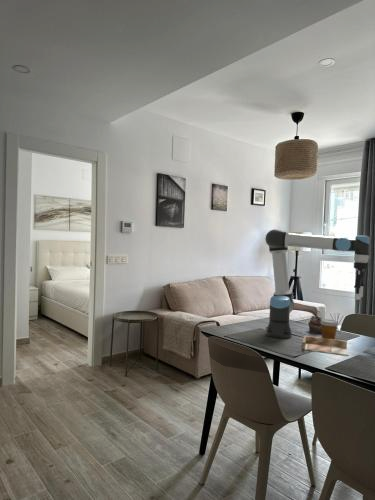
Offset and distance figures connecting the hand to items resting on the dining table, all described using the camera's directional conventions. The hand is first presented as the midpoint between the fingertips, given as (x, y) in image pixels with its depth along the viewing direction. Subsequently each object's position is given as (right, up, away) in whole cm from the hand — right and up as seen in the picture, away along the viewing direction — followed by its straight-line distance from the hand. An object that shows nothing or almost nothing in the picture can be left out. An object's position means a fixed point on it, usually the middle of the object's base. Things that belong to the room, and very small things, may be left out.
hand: (358, 298), depth 208 cm
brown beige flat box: (-27, -24, -19) cm, 42 cm away
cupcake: (-18, -25, +20) cm, 36 cm away
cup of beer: (-19, -25, -4) cm, 32 cm away
